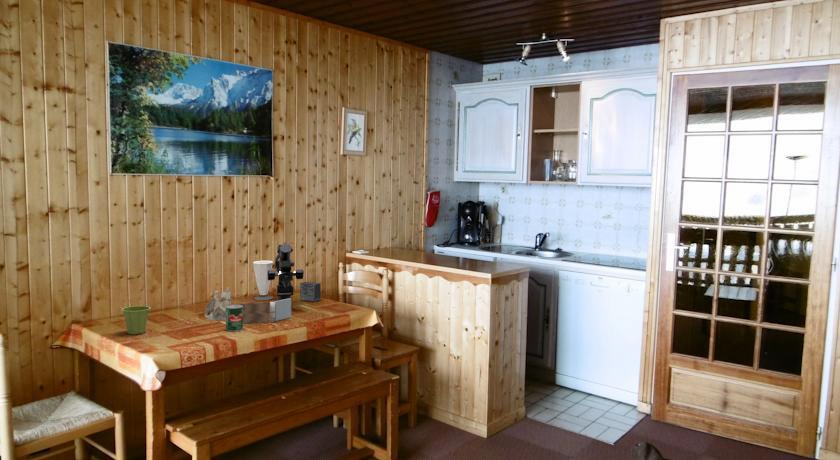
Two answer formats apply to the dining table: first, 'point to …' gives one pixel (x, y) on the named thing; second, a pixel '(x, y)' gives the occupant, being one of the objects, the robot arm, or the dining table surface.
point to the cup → (262, 278)
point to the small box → (310, 291)
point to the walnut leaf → (257, 313)
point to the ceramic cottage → (218, 306)
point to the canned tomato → (234, 317)
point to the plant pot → (136, 318)
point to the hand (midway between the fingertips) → (286, 287)
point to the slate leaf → (281, 309)
